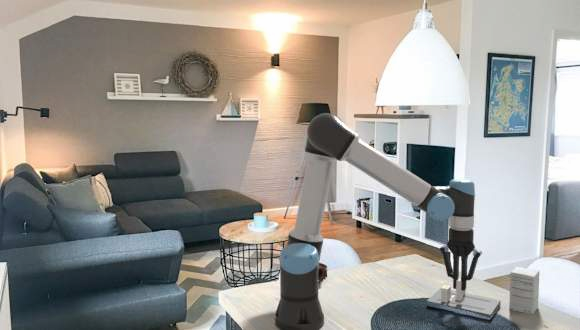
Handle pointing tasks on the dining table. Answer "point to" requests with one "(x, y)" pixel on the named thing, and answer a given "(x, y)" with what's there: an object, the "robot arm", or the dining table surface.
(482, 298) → the plate
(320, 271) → the pottery mug
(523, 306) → the supplement box
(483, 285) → the dining table surface
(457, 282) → the robot arm
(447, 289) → the fader near
